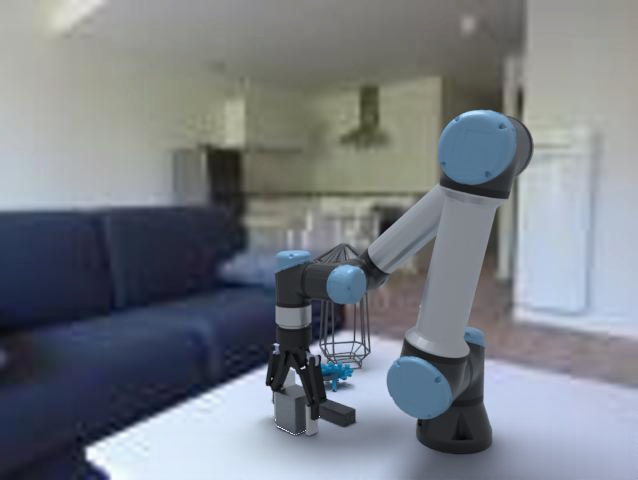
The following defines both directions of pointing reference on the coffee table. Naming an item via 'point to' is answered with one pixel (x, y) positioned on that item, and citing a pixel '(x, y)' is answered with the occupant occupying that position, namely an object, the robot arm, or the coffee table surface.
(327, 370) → the gear
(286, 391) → the grey rectangular block
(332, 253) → the geometric lantern
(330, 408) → the ratchet
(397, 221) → the robot arm
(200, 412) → the coffee table surface
